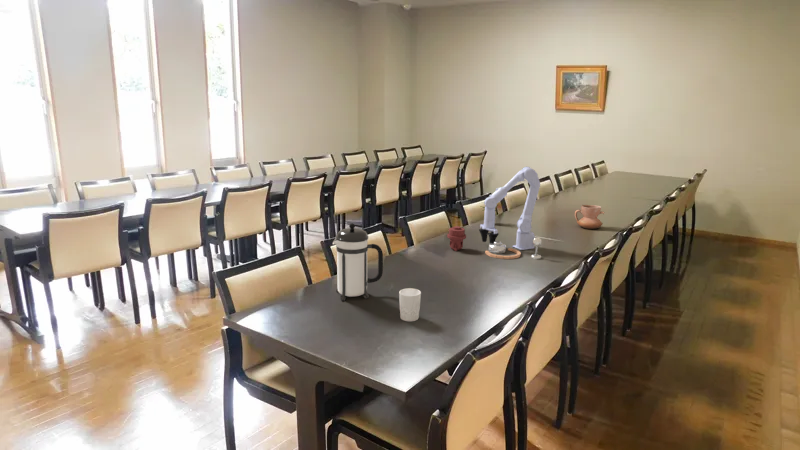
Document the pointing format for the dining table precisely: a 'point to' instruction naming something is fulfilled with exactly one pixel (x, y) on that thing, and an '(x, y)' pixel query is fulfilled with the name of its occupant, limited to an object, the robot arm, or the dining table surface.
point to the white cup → (409, 304)
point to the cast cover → (497, 247)
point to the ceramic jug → (589, 216)
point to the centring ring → (505, 256)
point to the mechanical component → (456, 237)
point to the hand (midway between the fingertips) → (488, 243)
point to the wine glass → (537, 243)
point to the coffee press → (354, 262)
